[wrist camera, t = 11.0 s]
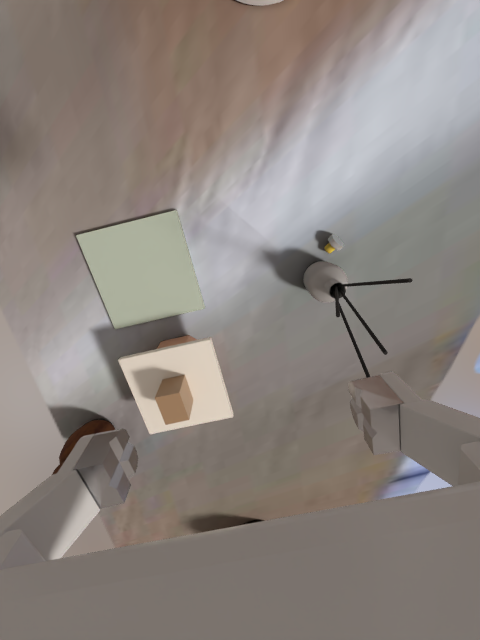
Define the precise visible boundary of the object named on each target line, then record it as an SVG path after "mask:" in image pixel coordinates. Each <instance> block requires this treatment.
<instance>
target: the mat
mask: <svg viewBox="0 0 480 640" xmlns="http://www.w3.org/2000/svg"><path fill="white" fill-rule="evenodd" d="M76 237H77V239H78V242H79V244H80V247H81V249H82V251H83V254H84V256H85V259H86V261H87V263H88V266H89V268H90V271H91V273H92V275H93V278H94V280H95V283H96V285H97V287H98V290H99V292H100V295H101V297H102V299H103V302H104V304H105V307H106V309H107V311H108V314H109V316H110V319H111V321H112V323H113V326H114V328H115V329H119V328H123V327H127V326H132V325H136V324H140V323H145V322H149V321H153V320H158V319H162V318H166V317H171V316H175V315H179V314H184V313H188V312H192V311H197V310H201V309H205V305H204V302H203V299H202V295H201V292H200V288H199V285H198V281H197V278H196V274H195V271H194V267H193V264H192V261H191V257H190V254H189V250H188V247H187V243H186V240H185V236H184V233H183V229H182V226H181V223H180V219H179V216H178V212H177V210H174V211H170V212H166V213H163V214H159V215H155V216H151V217H147V218H143V219H139V220H135V221H131V222H127V223H123V224H119V225H115V226H111V227H107V228H103V229H99V230H95V231H91V232H87V233H83V234H79V235H76Z"/></svg>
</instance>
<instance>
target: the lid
mask: <svg viewBox="0 0 480 640" xmlns="http://www.w3.org/2000/svg"><path fill="white" fill-rule="evenodd" d="M118 361H119V363H120V366H121V368H122V370H123V373H124V375H125V377H126V380H127V382H128V384H129V387H130V389H131V391H132V394H133V396H134V398H135V401H136V403H137V405H138V408H139V410H140V412H141V415H142V417H143V419H144V422H145V424H146V426H147V429H148V431H149V433H150V434H154V433H158V432H163V431H168V430H173V429H178V428H183V427H187V426H192V425H197V424H202V423H207V422H211V421H216V420H221V419H226V418H231V417H233V411H232V407H231V404H230V400H229V397H228V394H227V390H226V387H225V383H224V380H223V376H222V373H221V370H220V366H219V363H218V359H217V356H216V353H215V349H214V346H213V342H212V339H211V337H208V338H204V339H199V340H195V341H190V342H186V343H181V344H177V345H172V346H168V347H164V348H159V349H155V350H150V351H146V352H141V353H137V354H132V355H128V356H123V357H120V358H119V360H118Z"/></svg>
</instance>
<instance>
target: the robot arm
mask: <svg viewBox="0 0 480 640" xmlns="http://www.w3.org/2000/svg"><path fill="white" fill-rule="evenodd" d="M237 1H239V2H242V3H245V4H249V5H270V4H274V3H278V2H281V1H283V0H237ZM348 390H349V393H350V394H351V396H352V399H351V401H350V407H351V412H352V415H353V418H354V421H355V423H356V425H357V427H358V429H360V430H361V431H363V432H364V439H365V441H366V443H367V444H368V446H369V448H370V450H371V451H372V453H373V455H377V454H384V453H390V452H396V451H401V452H402V453H403V454H405V455H406V456H408V457H410V458H411V459H413V460H414V461H416V462H417V463H419V464H420V465H422V466H423V467H425V468H426V469H428V470H429V471H431V472H432V473H434V474H435V475H437V476H438V477H440V478H441V479H443V480H445V481H446V482H448V483H449V484H451V485H452V487H447V488H442V489H436V490H430V491H425V492H419V493H414V494H409V495H403V496H398V497H392V498H387V499H381V500H376V501H371V502H365V503H360V504H354V505H349V506H343V507H338V508H332V509H327V510H321V511H316V512H310V513H305V514H299V515H294V516H288V517H283V518H278V519H272V520H267V521H261V522H256V523H250V524H245V525H239V526H234V527H228V528H223V529H218V530H212V531H207V532H201V533H196V534H190V535H185V536H179V537H174V538H169V539H163V540H158V541H152V542H147V543H141V544H136V545H130V546H125V547H120V548H114V549H109V550H103V551H98V552H92V553H87V554H81V555H76V556H71V557H66V558H61V557H62V556H63V554H64V553H65V552H66V551H67V550H68V548H69V547H70V546H71V545H72V543H73V542H74V541H75V540H76V539H77V538H78V536H79V535H80V534H81V533H82V532H83V530H84V529H85V528H86V527H87V525H88V524H89V523H90V522H91V521H92V519H93V518H94V517H95V515H96V514H97V513H98V512H99V511H100V509H101V508H105V507H109V506H114V505H118V504H123V503H124V502H125V500H126V497H127V494H128V491H129V489H130V486H131V484H130V482H129V479H130V478H131V477H132V476H133V475H134V474H135V472H136V469H137V464H138V456H137V451H136V449H135V447H134V446H133V445H132V444H130V443H128V440H129V435H128V433H127V431H126V430H125V429H117V430H112V431H106V432H101V433H97V434H91V435H86V436H83V437H81V438H80V439H79V441H78V442H77V444H76V445H75V447H74V448H73V450H72V451H71V453H70V454H69V456H68V457H67V459H66V460H65V462H64V463H63V465H62V466H61V468H60V469H59V471H58V472H57V474H53V475H51V476H50V477H49V478H48V479H46V480H45V481H44V482H42V483H41V484H40V485H39V486H38V487H36V488H35V489H34V490H32V491H31V492H30V493H29V494H27V495H26V496H25V497H24V498H22V499H21V500H20V501H19V502H17V503H16V504H15V505H14V506H12V507H11V508H10V509H8V510H7V511H6V512H5V513H3V514H2V515H1V516H0V640H480V418H478V417H475V416H473V415H470V414H467V413H464V412H461V411H458V410H456V409H453V408H450V407H447V406H445V405H442V404H439V403H436V402H434V401H431V400H428V399H424V400H422V399H421V398H420V397H419V396H418V395H417V394H416V393H415V392H414V391H413V390H412V389H411V388H410V387H409V386H408V385H407V384H406V383H405V382H404V381H403V380H402V379H401V378H400V377H399V376H398V375H397V374H396V373H395V372H392V371H391V372H387V373H383V374H379V375H377V376H372V377H367V378H363V379H358V380H353V381H349V382H348Z"/></svg>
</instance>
